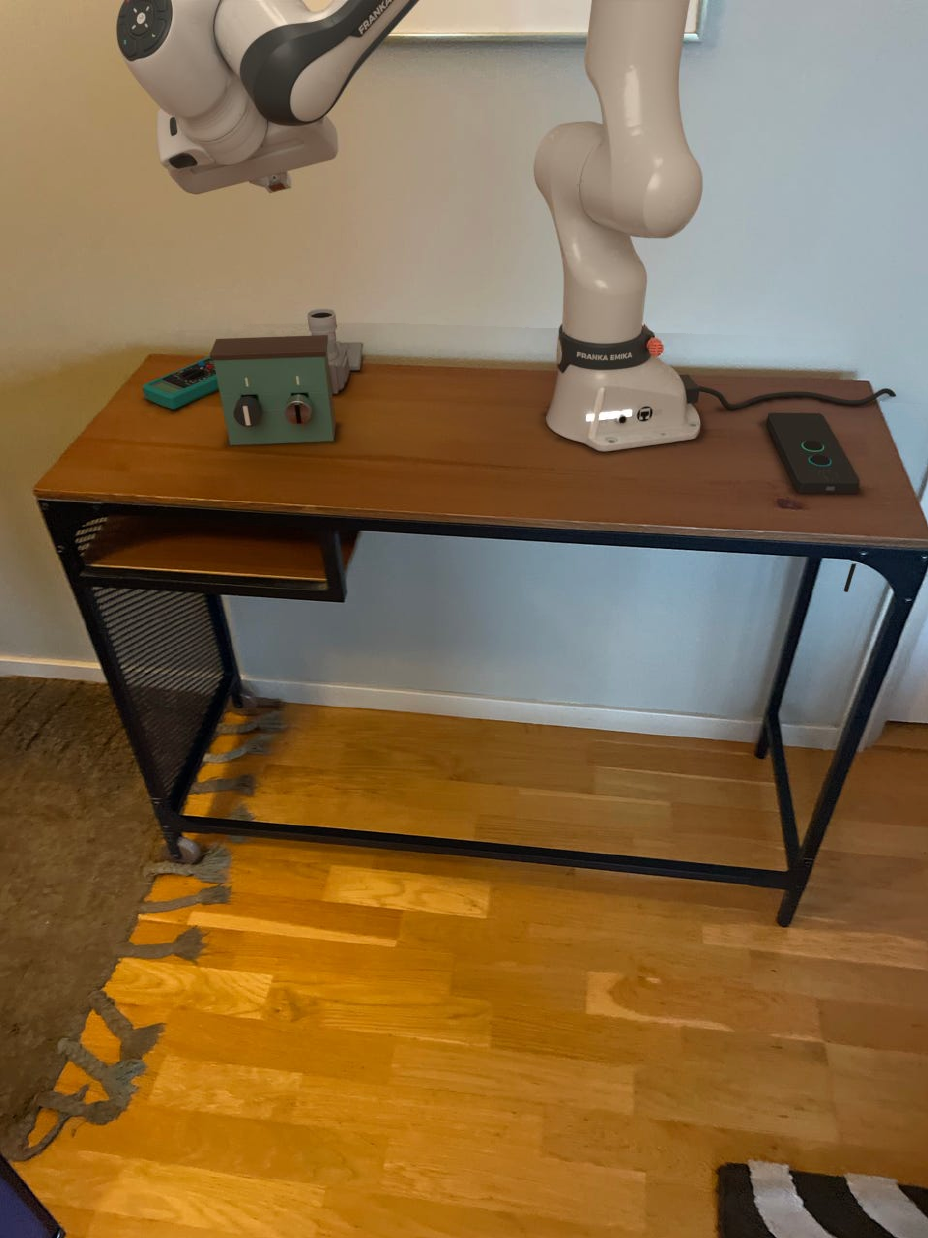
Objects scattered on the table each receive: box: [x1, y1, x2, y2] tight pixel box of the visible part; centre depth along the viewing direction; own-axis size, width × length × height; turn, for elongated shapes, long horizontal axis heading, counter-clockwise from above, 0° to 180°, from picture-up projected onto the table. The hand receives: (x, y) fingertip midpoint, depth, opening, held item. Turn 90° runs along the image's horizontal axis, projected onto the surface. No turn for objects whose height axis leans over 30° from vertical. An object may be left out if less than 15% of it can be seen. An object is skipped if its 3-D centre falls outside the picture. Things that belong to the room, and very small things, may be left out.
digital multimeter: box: [142, 355, 219, 411], centre depth 145 cm, size 7×15×3 cm, turn 143°
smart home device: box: [765, 412, 861, 495], centre depth 126 cm, size 8×2×20 cm
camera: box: [306, 308, 364, 395], centre depth 146 cm, size 9×12×15 cm
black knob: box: [233, 395, 262, 427], centre depth 127 cm, size 6×4×4 cm, turn 3°
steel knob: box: [285, 393, 312, 425], centre depth 127 cm, size 6×4×4 cm, turn 3°
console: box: [209, 335, 337, 446], centre depth 130 cm, size 6×16×14 cm, turn 93°
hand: (280, 185), depth 115 cm, fingers closed
